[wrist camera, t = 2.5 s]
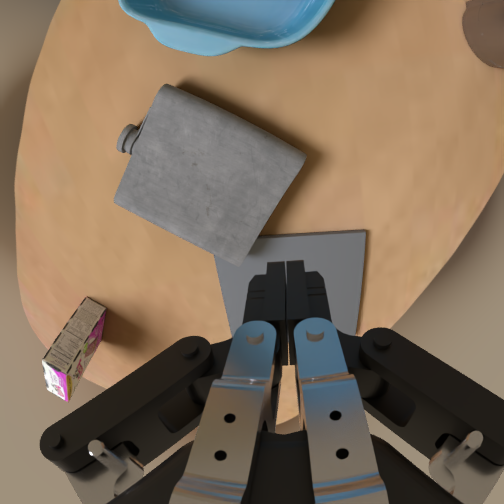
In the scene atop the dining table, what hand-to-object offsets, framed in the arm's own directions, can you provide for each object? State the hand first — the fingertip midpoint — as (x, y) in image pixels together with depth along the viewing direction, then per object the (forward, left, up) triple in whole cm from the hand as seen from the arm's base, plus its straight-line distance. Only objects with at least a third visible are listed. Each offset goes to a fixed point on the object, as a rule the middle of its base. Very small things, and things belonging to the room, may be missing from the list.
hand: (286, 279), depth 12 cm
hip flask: (+6, -2, -22) cm, 23 cm away
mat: (+19, 0, -24) cm, 31 cm away
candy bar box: (+25, -37, -25) cm, 51 cm away
